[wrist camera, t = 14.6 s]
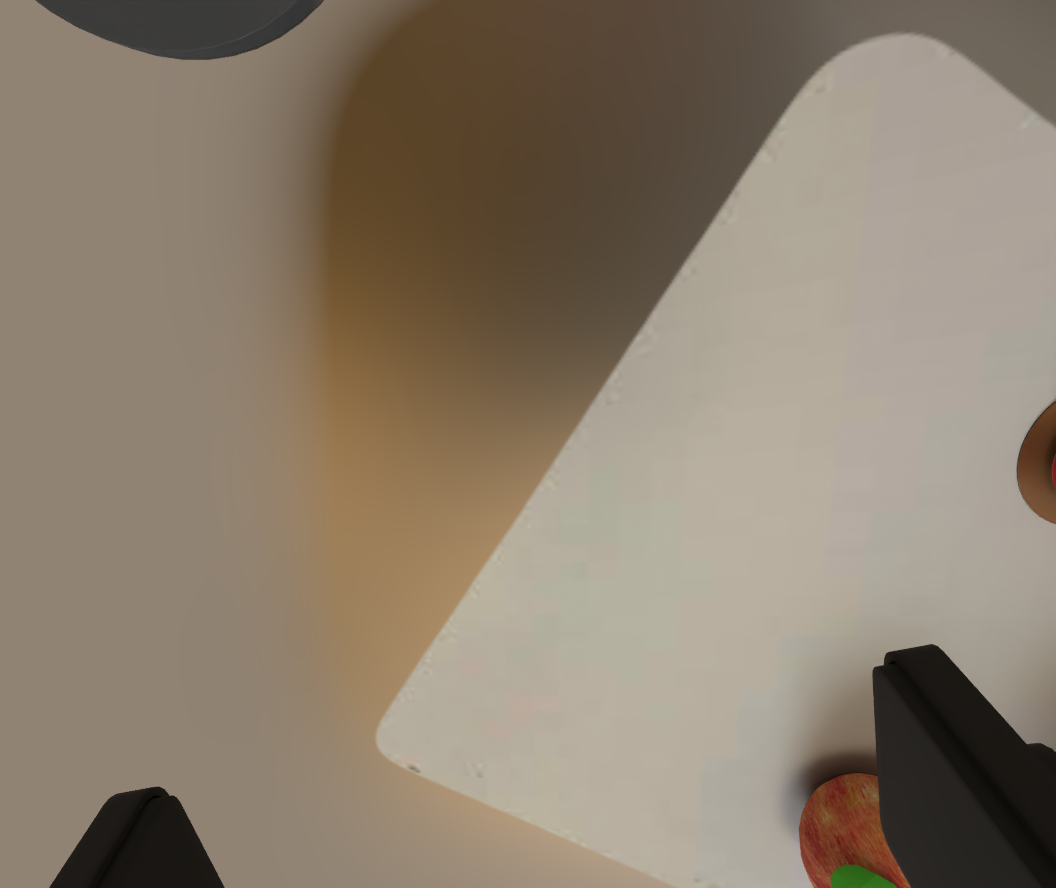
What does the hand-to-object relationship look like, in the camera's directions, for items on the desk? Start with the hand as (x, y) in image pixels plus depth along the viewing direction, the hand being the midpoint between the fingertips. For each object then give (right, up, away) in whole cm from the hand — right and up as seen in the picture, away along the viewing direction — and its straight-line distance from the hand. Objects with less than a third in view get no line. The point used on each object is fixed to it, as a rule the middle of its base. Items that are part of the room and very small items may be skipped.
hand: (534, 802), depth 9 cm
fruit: (+22, -19, +39) cm, 48 cm away
